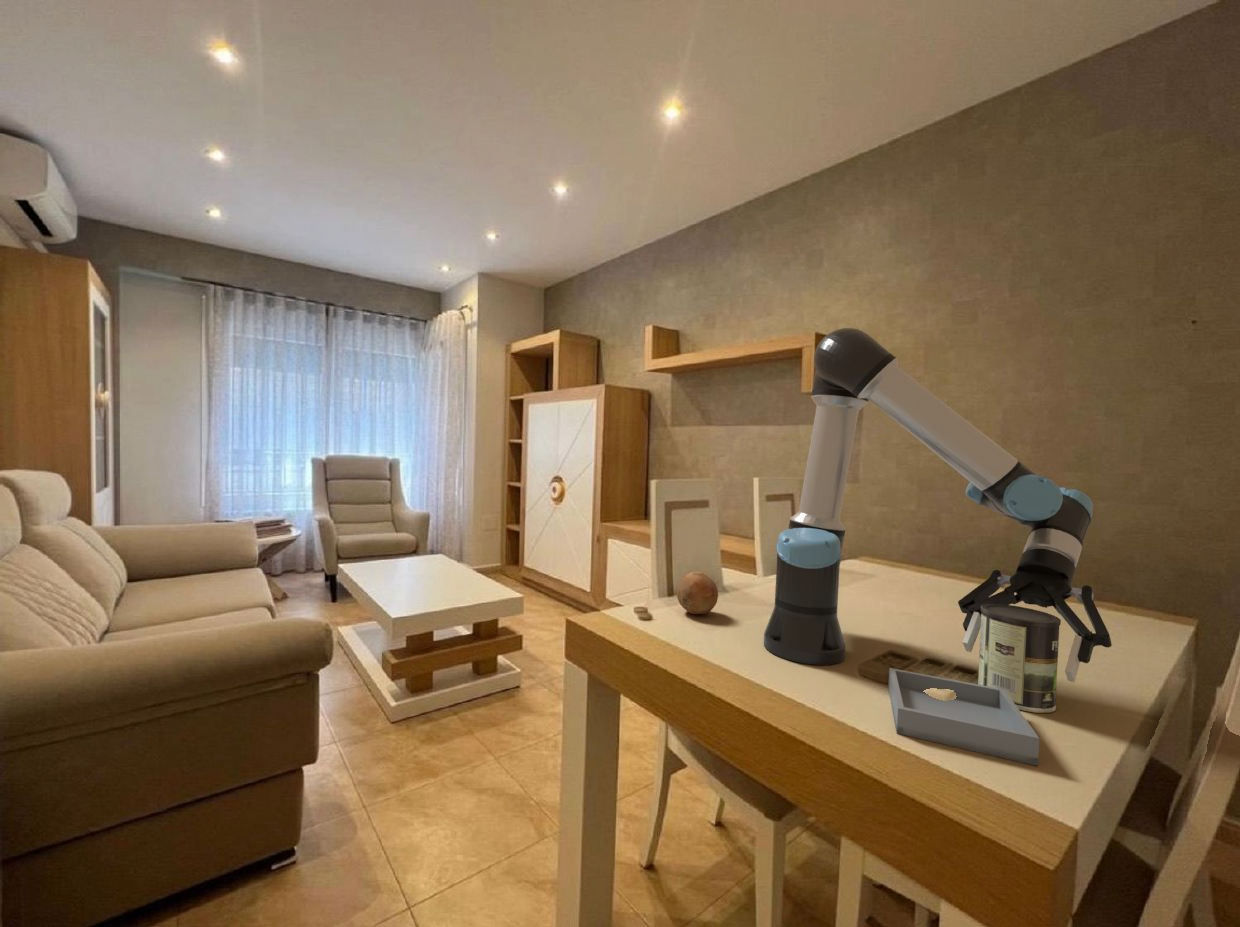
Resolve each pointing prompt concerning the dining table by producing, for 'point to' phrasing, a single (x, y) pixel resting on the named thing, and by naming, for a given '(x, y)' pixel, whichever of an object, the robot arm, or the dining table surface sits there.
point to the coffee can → (1020, 655)
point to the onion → (697, 593)
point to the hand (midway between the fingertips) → (1014, 661)
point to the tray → (962, 716)
